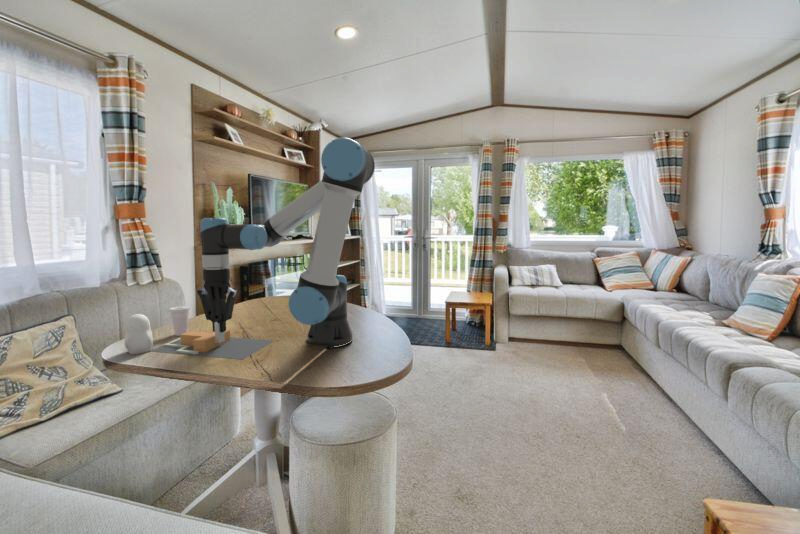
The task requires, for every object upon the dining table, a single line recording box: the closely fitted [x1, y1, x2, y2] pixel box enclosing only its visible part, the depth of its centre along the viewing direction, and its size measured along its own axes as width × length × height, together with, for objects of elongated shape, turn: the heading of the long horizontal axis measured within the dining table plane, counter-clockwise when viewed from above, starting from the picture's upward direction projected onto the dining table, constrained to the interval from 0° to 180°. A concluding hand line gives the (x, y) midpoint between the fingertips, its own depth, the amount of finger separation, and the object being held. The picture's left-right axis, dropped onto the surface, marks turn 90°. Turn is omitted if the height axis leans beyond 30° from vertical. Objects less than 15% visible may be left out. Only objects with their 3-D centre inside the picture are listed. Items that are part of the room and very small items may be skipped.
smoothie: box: [168, 295, 191, 337], centre depth 135 cm, size 6×6×14 cm
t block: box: [179, 329, 231, 352], centre depth 122 cm, size 12×12×4 cm
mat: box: [147, 336, 276, 360], centre depth 121 cm, size 32×18×1 cm, turn 79°
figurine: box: [124, 313, 154, 355], centre depth 118 cm, size 7×8×12 cm
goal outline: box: [163, 335, 232, 354], centre depth 123 cm, size 15×16×1 cm
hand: (220, 341), depth 121 cm, fingers closed
